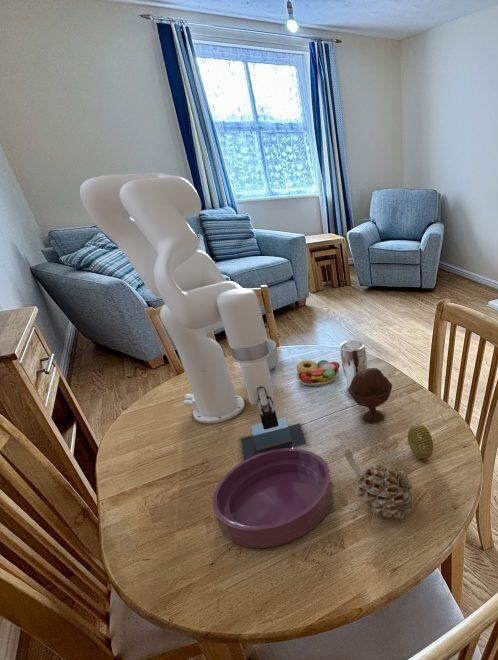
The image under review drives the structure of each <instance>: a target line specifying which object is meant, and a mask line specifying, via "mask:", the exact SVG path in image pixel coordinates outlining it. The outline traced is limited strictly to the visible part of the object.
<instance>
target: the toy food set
mask: <svg viewBox="0 0 498 660" xmlns="http://www.w3.org/2000/svg"><path fill="white" fill-rule="evenodd" d="M340 367H341V366H340V363H339V362H337V361H331V362H329V360H326V359H321V360H319V361H318V362H316V361H313V360H310V359H305V360H301V361H299V362H298V363H297V364H296V365H295V370H296V372H297V373H296V376H295V379H296V380H297V381H298V382H299V383H301V384H302V385H305V386H308V387H319V386H325V385H328V384H330V383H332V382H333V381H334V380H336V379H337V378H338V377H339V374H340Z"/></svg>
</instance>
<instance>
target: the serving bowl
mask: <svg viewBox="0 0 498 660" xmlns="http://www.w3.org/2000/svg"><path fill="white" fill-rule="evenodd" d="M211 499H212V500H211V501H212V511H213V513H214V515H215V518H216V521H217V523H218V525H219V527H220V530H221V532H222V534H223V535H224V537H226V538H227V539H228V540H230V541H231V542H232V543H233V544H237V545H240V546H242V547H245V548H256V549H265V548H270V547H276V546H280V545H284V544H286V543H289V542H292V541H295V540H296V539H298V538H300V537H301V536H304V535H305V534H307V533H309V532H310V531H312V529H314V528H315V527H316V526H317V525H318V524H319V523H321V521H322V520H323V519H324V517H325V516H326V514H327V513H328V512H329V510H330V508H331V505H332V502H333V500H334V485H333V480H332V474H331V471H330V468H329V464H328V463H327V462H326V461H325V460H324V459H323V457H322V456H320V455H319V454H316V453H315V452H313V451H310V450H306V449H302V448H294V447H293V448H284V449H276V450H271V451H267V452H263V453H260V454H257V455H255V456H253V457H250V458H248V459H246V460H245V461H244V460H243V461H241V462H240V463H238V464H237V465H235V466H233V467H232V468H231V469H230V470H229V471H228V472H226V473H225V474H224V475H223V477H222V478H221V479H220V481H219V482H218V483H217V485H216V486H215V489H214V491H213V495H212V496H211Z"/></svg>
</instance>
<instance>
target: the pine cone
mask: <svg viewBox="0 0 498 660" xmlns="http://www.w3.org/2000/svg"><path fill="white" fill-rule="evenodd" d="M353 454H354V453H353V452H352V451H351V450H350V449H349V447H347V448H346V449H345V452H344V456H345V459H346V460H347V461H348V464H349V466H350V467H351V469H352V470H353V472H354V473H355V475H356V477H357V479H355V482H357V486H356V490H355V492H354V493H355V494H356V499H361V503H362V505H364V506H365V507H366V508H367V509H368V508H369V507H371V512H372V513H374V514H376V515H379V514H382V516H383V518H391V517H392V516H393V518H395V519H403V518H404V516H405V514H408V515H409V514H410V513H411V512H412V511H413V510H414V509H415V505H414V494H412V493H411V491H412V490H413V489H415V488H414V486H413V481H412V480H410V479H409V474H407V473H405V471H403V470H401V471H399V468H398V465H389V466H387V467H385V465H384V464H383V463H381V464H380V463H377V464H376V465H375V466H369V467H367V468H366V469H365V470H363V471H362V470H361V469H360V467H359V466H358V464H357V463H356V461H355V458H354V456H353Z"/></svg>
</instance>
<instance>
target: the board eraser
mask: <svg viewBox="0 0 498 660" xmlns="http://www.w3.org/2000/svg"><path fill="white" fill-rule="evenodd" d="M277 420H278V424H279V426H277V427H273V428H270V429H264V428H263V425H262V422H259V423H256V424H252V425H250V428H251V436H252V435H253V439H254V442H255V446H256V449H257V451H258V450H262V449H266V448H269V447H273V446H277V445H281V444H284V443H288V442H292V439H291V435H290V430H289V426H290V425H289V423H288V420H287V417H281V418H277Z"/></svg>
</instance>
